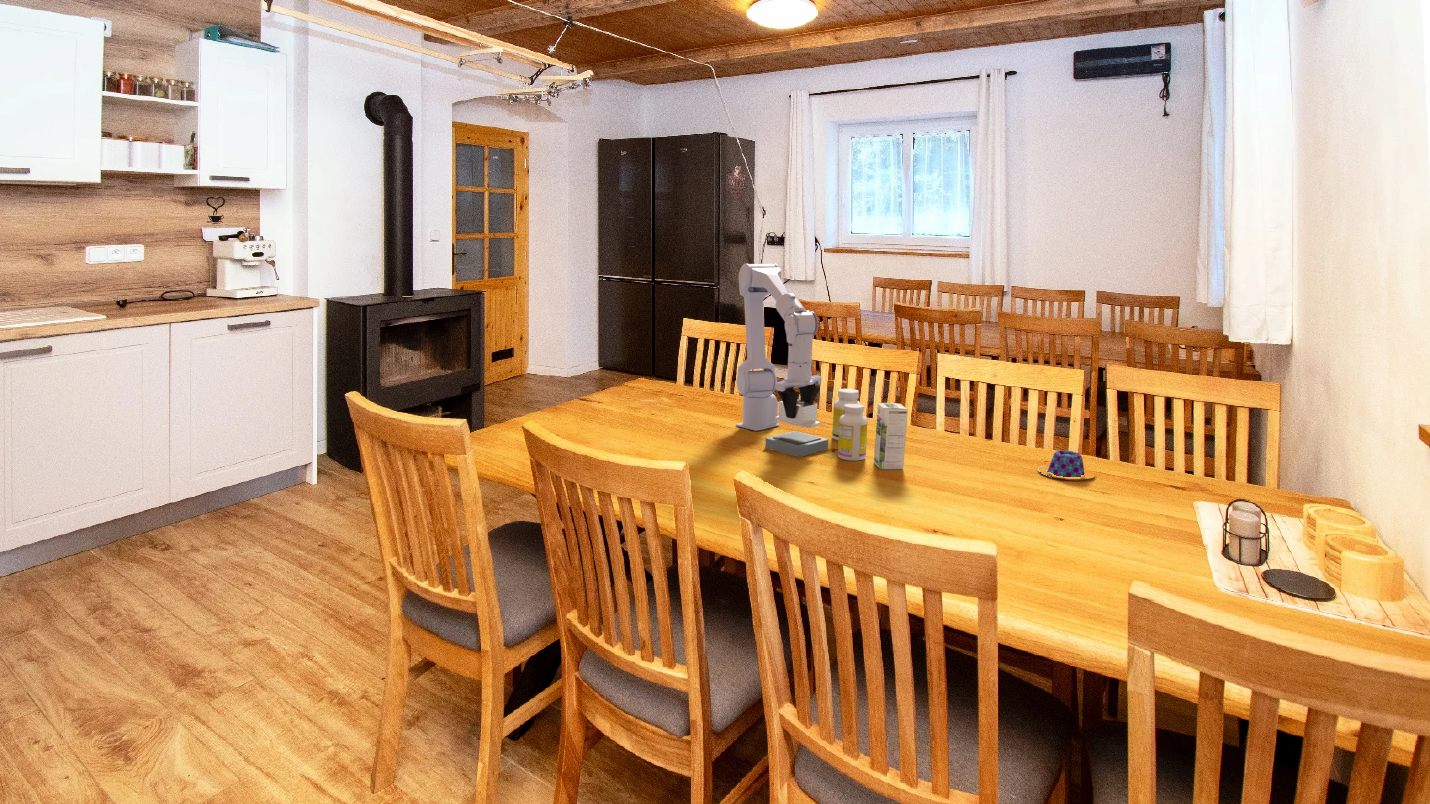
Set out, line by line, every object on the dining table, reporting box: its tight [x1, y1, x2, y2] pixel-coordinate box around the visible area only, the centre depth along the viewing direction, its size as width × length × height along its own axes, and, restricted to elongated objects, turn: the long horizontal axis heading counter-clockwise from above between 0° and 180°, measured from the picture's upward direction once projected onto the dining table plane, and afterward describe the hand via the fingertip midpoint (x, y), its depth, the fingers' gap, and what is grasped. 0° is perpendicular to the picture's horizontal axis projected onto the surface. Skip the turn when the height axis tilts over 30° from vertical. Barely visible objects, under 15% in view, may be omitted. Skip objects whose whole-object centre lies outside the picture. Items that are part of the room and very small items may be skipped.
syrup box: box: [873, 402, 909, 470], centre depth 194 cm, size 6×6×14 cm
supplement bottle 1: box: [831, 388, 862, 441], centre depth 217 cm, size 7×7×13 cm
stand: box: [764, 430, 829, 458], centre depth 209 cm, size 11×11×3 cm
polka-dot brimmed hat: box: [1037, 450, 1085, 478], centre depth 191 cm, size 12×12×5 cm
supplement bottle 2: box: [837, 404, 868, 462], centre depth 200 cm, size 7×7×13 cm
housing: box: [775, 398, 821, 429], centre depth 207 cm, size 5×11×6 cm, turn 44°
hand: (797, 416), depth 207 cm, fingers closed on housing, 5 cm apart
